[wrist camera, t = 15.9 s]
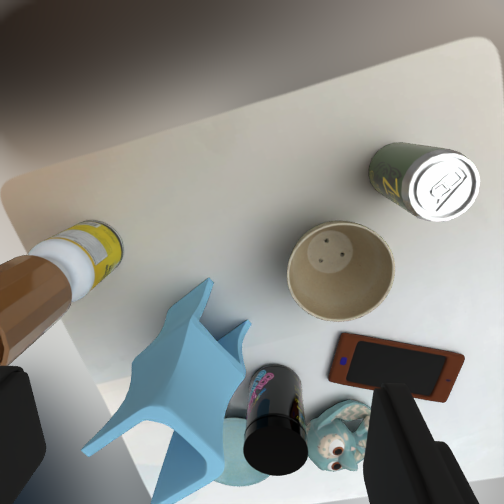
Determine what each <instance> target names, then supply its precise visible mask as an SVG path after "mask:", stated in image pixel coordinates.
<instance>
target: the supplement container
mask: <svg viewBox="0 0 504 504" xmlns="http://www.w3.org/2000/svg"><path fill="white" fill-rule="evenodd" d="M243 454H244V457H245V459H246V461H247V462H248V464H249V465H250V466H251V467H253V468H254V469H255V470H257V471H259V472H261V473H264V474H267V475H273V476H282V475H287V474H291V473H293V472H295V471H297V470H298V469H300V468H301V467H302V466H303V465H304V464H305V462H306V460H307V458H308V443H307V434H306V425H305V415H304V404H303V394H302V384H301V381H300V379H299V377H298V376H297V374H296V373H295V372H294V371H293V370H291V369H289V368H288V367H285V366H282V365H268V366H265V367H263V368H261V369H259V370H258V371H257V372H256V373H255V374H254V375H253V377H252V379H251V381H250V389H249V398H248V408H247V418H246V428H245V433H244V444H243Z"/></svg>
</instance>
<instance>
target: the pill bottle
mask: <svg viewBox="0 0 504 504" xmlns="http://www.w3.org/2000/svg"><path fill="white" fill-rule="evenodd" d="M28 255H34V256H39V257H42V258H45V259H47V260H49V261H50V262H52V263H54V264H55V265H56V266H57V267H58V268H60V269H61V271H62V272H63V273H64V274H65V276H66V277H67V279H68V281H69V283H70V286H71V289H72V302H74V301H77V300H79V299H81V298H82V297H84V296H85V295H86V294H87V293H88V292H89V291H91V290H92V289H93V288H94V287H95V286H96V285H97V284H98V283H100V282H101V281H102V280H103V279H104V278H105V277H106V276H107V275H108V274H110V273H111V272H112V271H113V270H114V269H115V268H116V267H117V266H118V265H119V264H120V262H121V260H122V257H123V243H122V240H121V238H120V236H119V235H118V233H117V232H116V231H115V230H114V229H113V228H112V227H110V226H109V225H107V224H105V223H103V222H100V221H95V220H88V221H84V222H81V223H78V224H77V225H75V226H73V227H71V228H69V229H67V230H65V231H63V232H61V233H59V234H57V235H55V236H53V237H50V238H48V239H46V240H44V241H42V242H40V243H39V244H37V245H36V246H34V247H33V248H32V249H31V250H30V252H29V253H28Z"/></svg>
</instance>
